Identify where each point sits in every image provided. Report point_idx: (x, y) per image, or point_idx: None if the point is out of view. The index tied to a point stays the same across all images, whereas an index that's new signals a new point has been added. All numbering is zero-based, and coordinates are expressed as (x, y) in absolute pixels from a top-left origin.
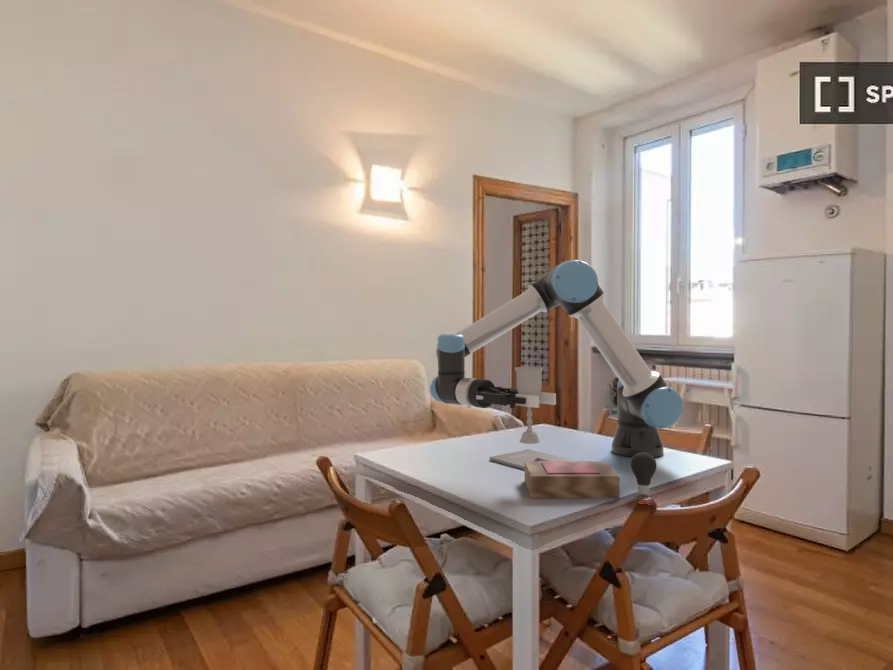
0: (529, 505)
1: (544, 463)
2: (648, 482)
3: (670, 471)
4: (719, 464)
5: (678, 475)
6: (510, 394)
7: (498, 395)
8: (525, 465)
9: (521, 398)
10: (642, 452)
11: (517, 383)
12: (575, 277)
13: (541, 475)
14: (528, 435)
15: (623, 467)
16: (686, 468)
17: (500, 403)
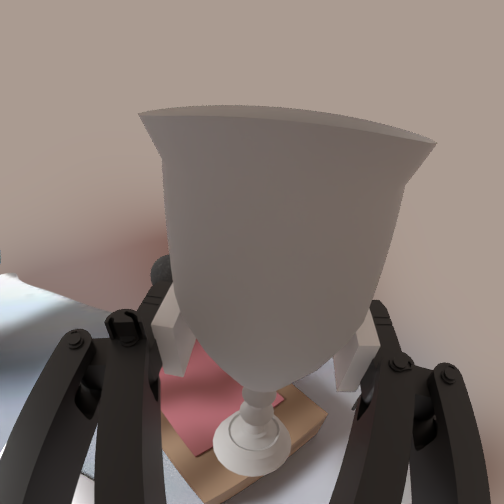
0: (351, 411)
1: (204, 444)
2: None
3: (38, 309)
4: (8, 277)
5: (57, 301)
6: (408, 368)
7: (470, 418)
8: (225, 492)
9: (383, 308)
10: (168, 258)
11: (375, 286)
12: None
13: (305, 402)
14: (280, 422)
15: (23, 362)
16: (24, 298)
17: (437, 428)
